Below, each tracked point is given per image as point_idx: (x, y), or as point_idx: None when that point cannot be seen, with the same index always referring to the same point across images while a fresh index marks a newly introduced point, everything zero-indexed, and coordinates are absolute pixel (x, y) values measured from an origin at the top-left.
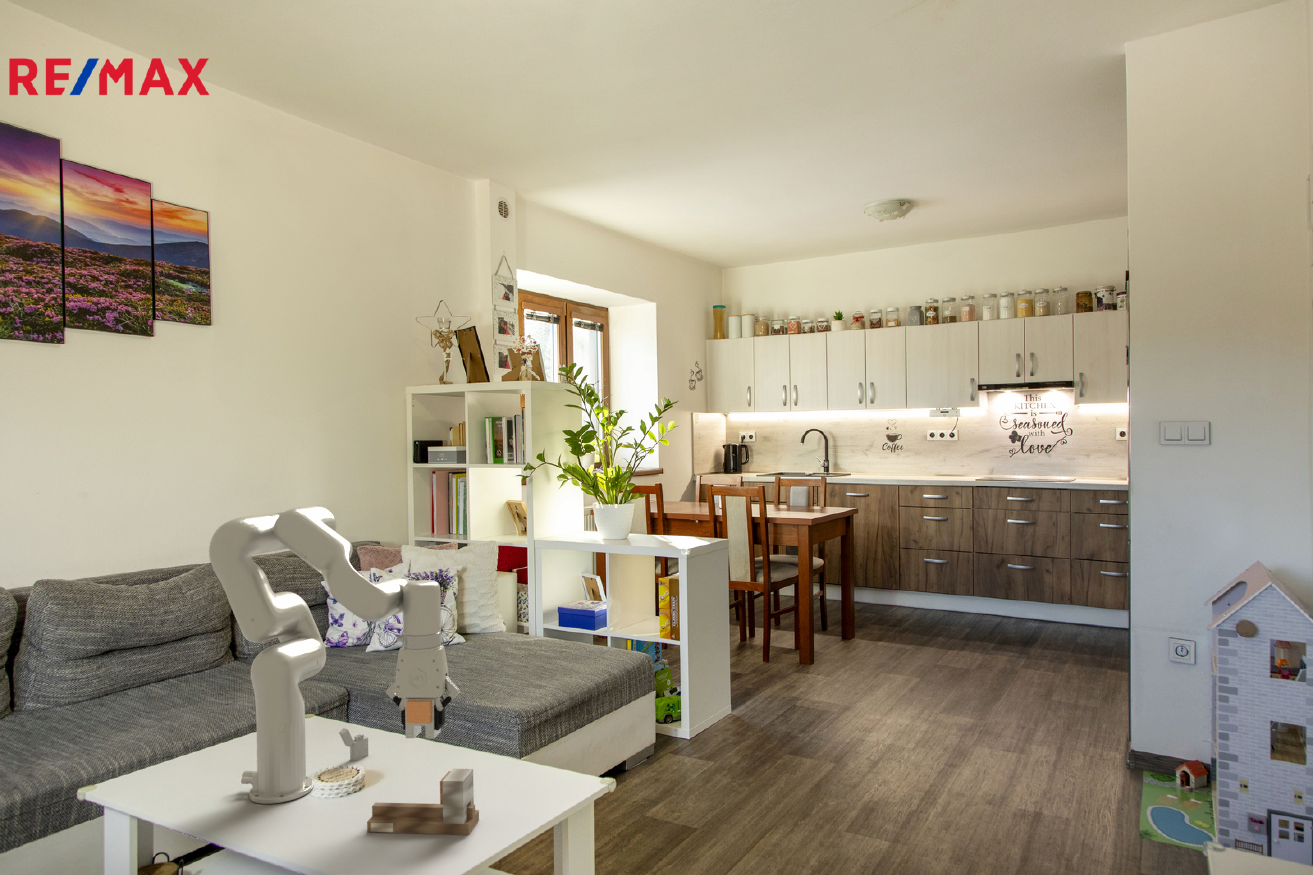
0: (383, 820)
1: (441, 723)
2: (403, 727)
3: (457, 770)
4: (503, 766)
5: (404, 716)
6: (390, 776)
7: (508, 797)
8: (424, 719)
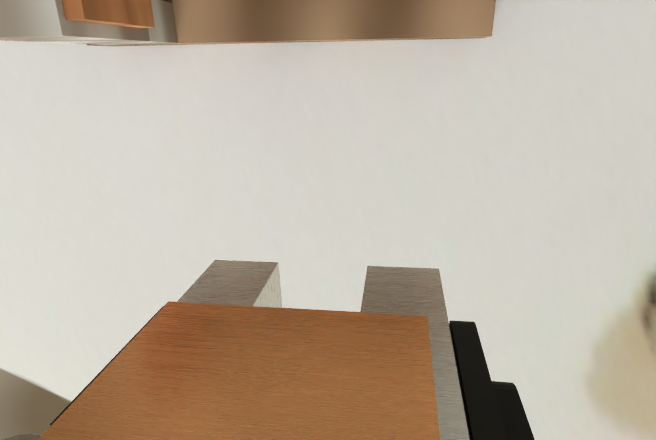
0: None
1: None
2: (473, 329)
3: (24, 7)
4: None
5: (481, 412)
6: (561, 387)
7: (103, 226)
8: (209, 328)
